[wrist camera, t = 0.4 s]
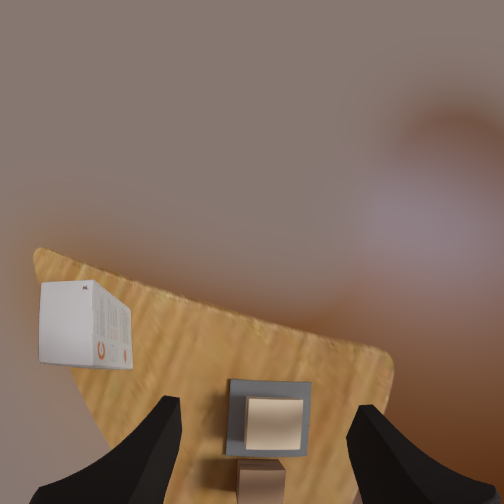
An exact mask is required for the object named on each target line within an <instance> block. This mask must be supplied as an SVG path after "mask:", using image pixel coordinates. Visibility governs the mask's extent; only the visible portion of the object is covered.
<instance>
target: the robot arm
mask: <svg viewBox="0 0 504 504" xmlns="http://www.w3.org/2000/svg"><path fill="white" fill-rule="evenodd" d="M181 434H182V423H181V410H180V398H178V397H171V396H163V397H162V398H161V399H160V401H159V402H158V403H157V405H156V406H155V407H154V408H153V410H152V411H151V412H150V413H149V414H148V416H147V417H146V418H145V419H144V420H143V421H142V422H141V423H140V424H139V425H138V426H137V428H136V429H135V430H134V431H133V432H132V433H131V434H129V435H128V436H127V437H126V438H125V439H124V440H123V441H122V442H121V443H120V444H119V445H117V446H116V447H115V448H114V449H113V450H111V451H110V452H109V453H107V454H106V455H105V456H103V457H102V458H100V459H99V460H97V461H96V462H94V463H93V464H91V465H90V466H88V467H86V468H84V469H82V470H80V471H79V472H76V473H74V474H72V475H70V476H68V477H66V478H64V479H62V480H59V481H56V482H54V483H51V484H48V485H45V486H42V487H39V488H38V490H37V491H36V492H35V494H34V495H33V497H32V499H31V501H30V503H29V504H163V501H164V497H165V493H166V490H167V487H168V483H169V480H170V477H171V474H172V471H173V468H174V464H175V461H176V458H177V455H178V451H179V446H180V440H181ZM346 440H347V447H348V453H349V458H350V461H351V465H352V468H353V471H354V474H355V478H356V481H357V484H358V487H359V491H360V494H361V497H362V502H363V504H499V503H500V502H501V497H500V495H499V493H498V492H497V490H496V488H495V486H493V485H490V484H486V483H483V482H480V481H476V480H473V479H470V478H468V477H465V476H463V475H461V474H459V473H456V472H454V471H452V470H450V469H448V468H447V467H445V466H443V465H441V464H440V463H438V462H437V461H435V460H434V459H432V458H431V457H429V456H428V455H426V454H425V453H424V452H422V451H421V450H420V449H418V448H417V447H416V446H415V445H414V444H413V443H411V442H410V441H409V440H408V439H407V438H406V437H405V436H404V435H403V434H401V433H400V432H399V431H398V430H397V429H396V428H395V427H394V426H393V425H392V424H391V423H390V422H389V421H388V420H387V419H386V418H385V417H384V416H383V415H382V414H381V413H380V411H379V410H378V409H377V408H376V407H375V406H374V405H359V407H358V410H357V412H356V415H355V417H354V420H353V422H352V424H351V427H350V429H349V431H348V434H347V436H346Z"/></svg>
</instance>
